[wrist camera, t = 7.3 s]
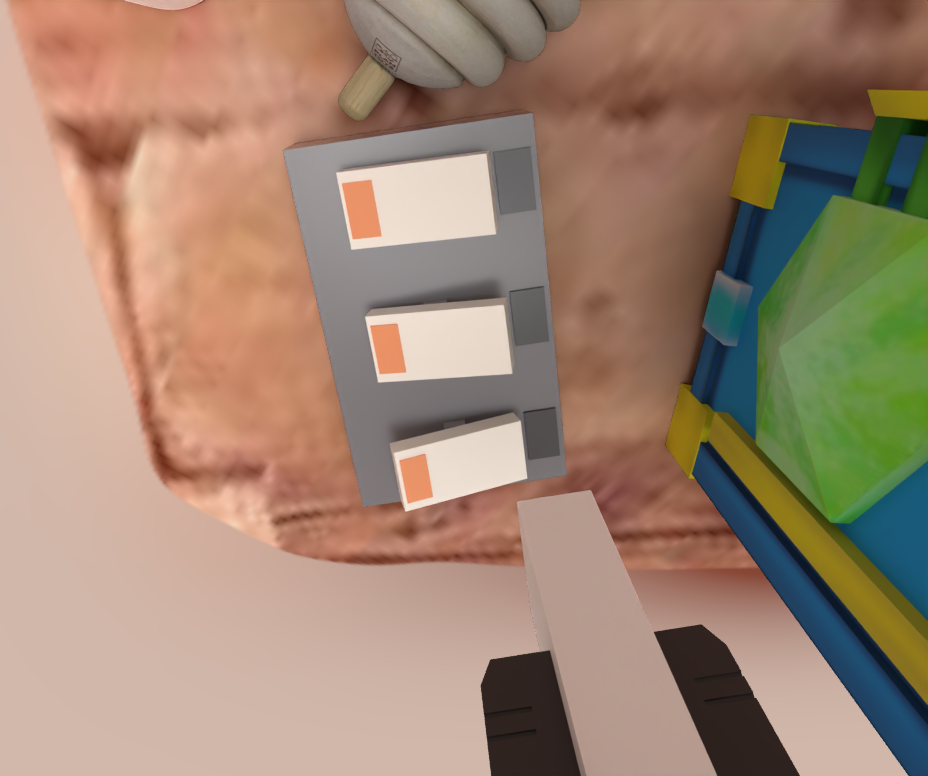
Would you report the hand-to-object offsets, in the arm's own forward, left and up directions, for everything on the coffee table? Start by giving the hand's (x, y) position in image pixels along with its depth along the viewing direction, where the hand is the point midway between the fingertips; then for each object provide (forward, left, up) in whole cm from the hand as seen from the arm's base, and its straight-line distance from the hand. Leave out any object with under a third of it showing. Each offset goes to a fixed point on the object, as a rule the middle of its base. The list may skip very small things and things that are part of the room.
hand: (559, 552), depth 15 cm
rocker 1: (+2, -4, -23) cm, 23 cm away
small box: (+2, +10, -23) cm, 25 cm away
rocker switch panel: (+2, +3, -28) cm, 29 cm away
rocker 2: (+2, +3, -23) cm, 23 cm away
